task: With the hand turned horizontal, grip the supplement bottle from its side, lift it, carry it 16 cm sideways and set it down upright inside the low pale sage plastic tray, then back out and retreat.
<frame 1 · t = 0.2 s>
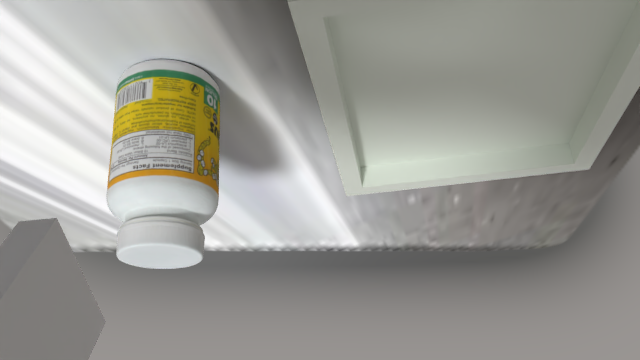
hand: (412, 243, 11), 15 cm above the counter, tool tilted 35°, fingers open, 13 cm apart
tray: (469, 67, 32), on the counter
supplement bottle: (170, 82, 32), on the counter
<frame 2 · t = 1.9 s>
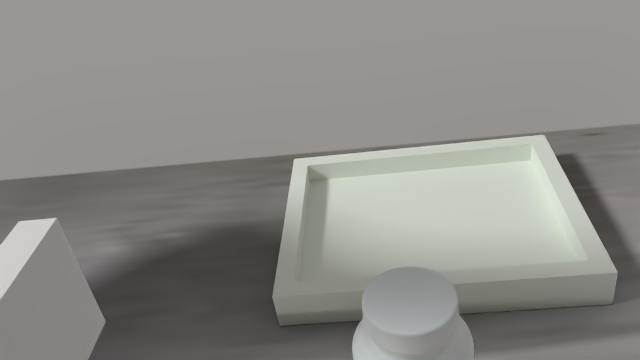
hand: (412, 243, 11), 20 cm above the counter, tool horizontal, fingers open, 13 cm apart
tray: (427, 233, 43), on the counter
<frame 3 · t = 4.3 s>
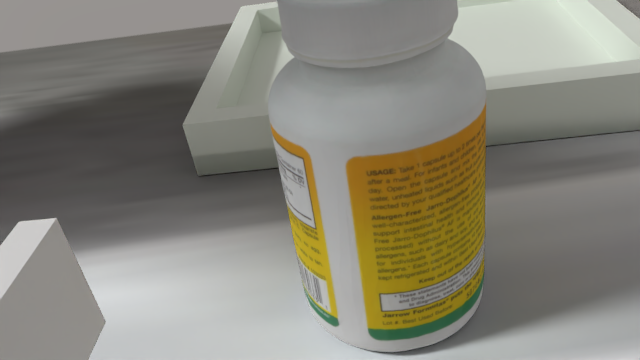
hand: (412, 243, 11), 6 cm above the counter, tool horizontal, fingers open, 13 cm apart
tray: (413, 74, 32), on the counter
supplement bottle: (395, 295, 19), on the counter
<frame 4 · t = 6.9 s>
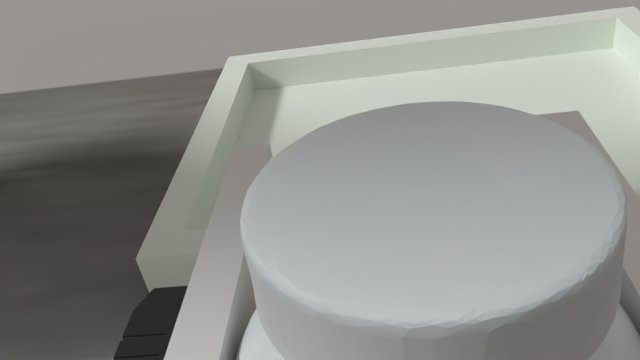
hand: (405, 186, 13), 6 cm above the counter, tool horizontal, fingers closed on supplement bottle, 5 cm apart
tray: (445, 157, 25), on the counter
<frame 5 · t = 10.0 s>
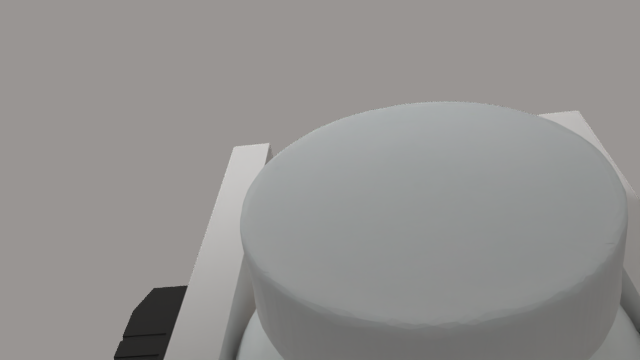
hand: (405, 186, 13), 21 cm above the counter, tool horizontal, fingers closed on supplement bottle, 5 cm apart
when the fingers open (8 cm above the counter, at t = 12.9 s): supplement bottle drops 1 cm, resting on tray.
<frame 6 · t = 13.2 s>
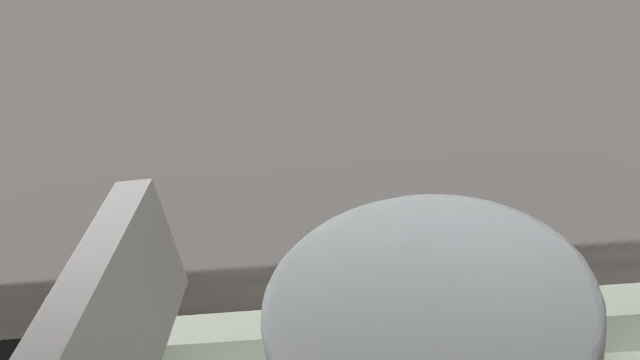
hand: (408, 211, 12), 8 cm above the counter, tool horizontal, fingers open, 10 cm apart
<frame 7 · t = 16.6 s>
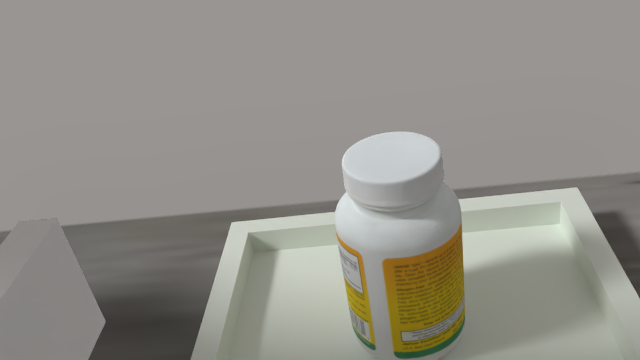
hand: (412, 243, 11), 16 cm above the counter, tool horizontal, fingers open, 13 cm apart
tray: (411, 339, 30), on the counter
supplement bottle: (409, 329, 29), point 1 cm above the counter, touching tray
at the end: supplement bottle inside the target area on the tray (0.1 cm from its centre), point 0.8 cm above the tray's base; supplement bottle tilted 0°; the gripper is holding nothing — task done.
